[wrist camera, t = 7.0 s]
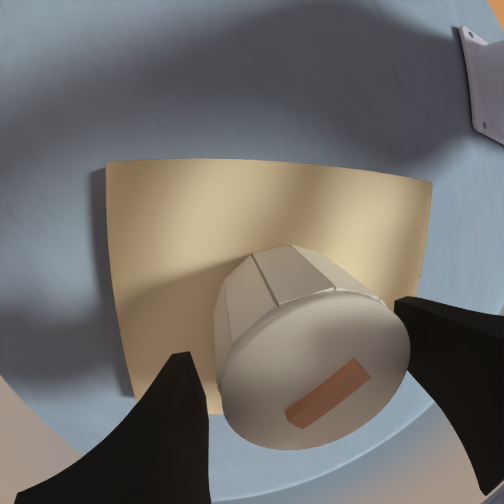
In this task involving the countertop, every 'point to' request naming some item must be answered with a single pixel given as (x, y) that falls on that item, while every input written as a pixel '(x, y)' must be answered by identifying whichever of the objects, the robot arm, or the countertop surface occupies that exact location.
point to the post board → (243, 243)
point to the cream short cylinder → (303, 350)
